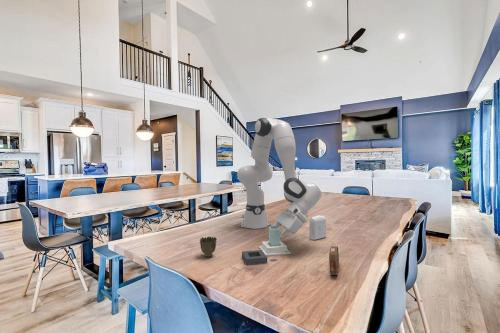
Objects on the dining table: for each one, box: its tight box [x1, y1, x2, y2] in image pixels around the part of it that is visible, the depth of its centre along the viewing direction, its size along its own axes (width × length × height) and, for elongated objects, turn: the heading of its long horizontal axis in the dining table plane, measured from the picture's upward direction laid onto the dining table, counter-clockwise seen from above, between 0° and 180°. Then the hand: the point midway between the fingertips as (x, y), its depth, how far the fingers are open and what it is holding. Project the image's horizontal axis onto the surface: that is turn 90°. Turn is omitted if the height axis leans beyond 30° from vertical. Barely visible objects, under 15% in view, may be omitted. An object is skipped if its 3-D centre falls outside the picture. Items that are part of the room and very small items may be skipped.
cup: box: [199, 236, 218, 258], centre depth 116 cm, size 8×7×8 cm
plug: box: [268, 224, 281, 247], centre depth 123 cm, size 4×4×11 cm
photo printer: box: [308, 214, 327, 241], centre depth 141 cm, size 10×4×12 cm, turn 123°
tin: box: [328, 245, 340, 276], centre depth 101 cm, size 15×3×8 cm, turn 158°
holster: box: [241, 249, 268, 266], centre depth 111 cm, size 9×9×2 cm
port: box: [258, 240, 292, 257], centre depth 123 cm, size 12×12×3 cm
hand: (276, 233), depth 123 cm, fingers open, 8 cm apart
